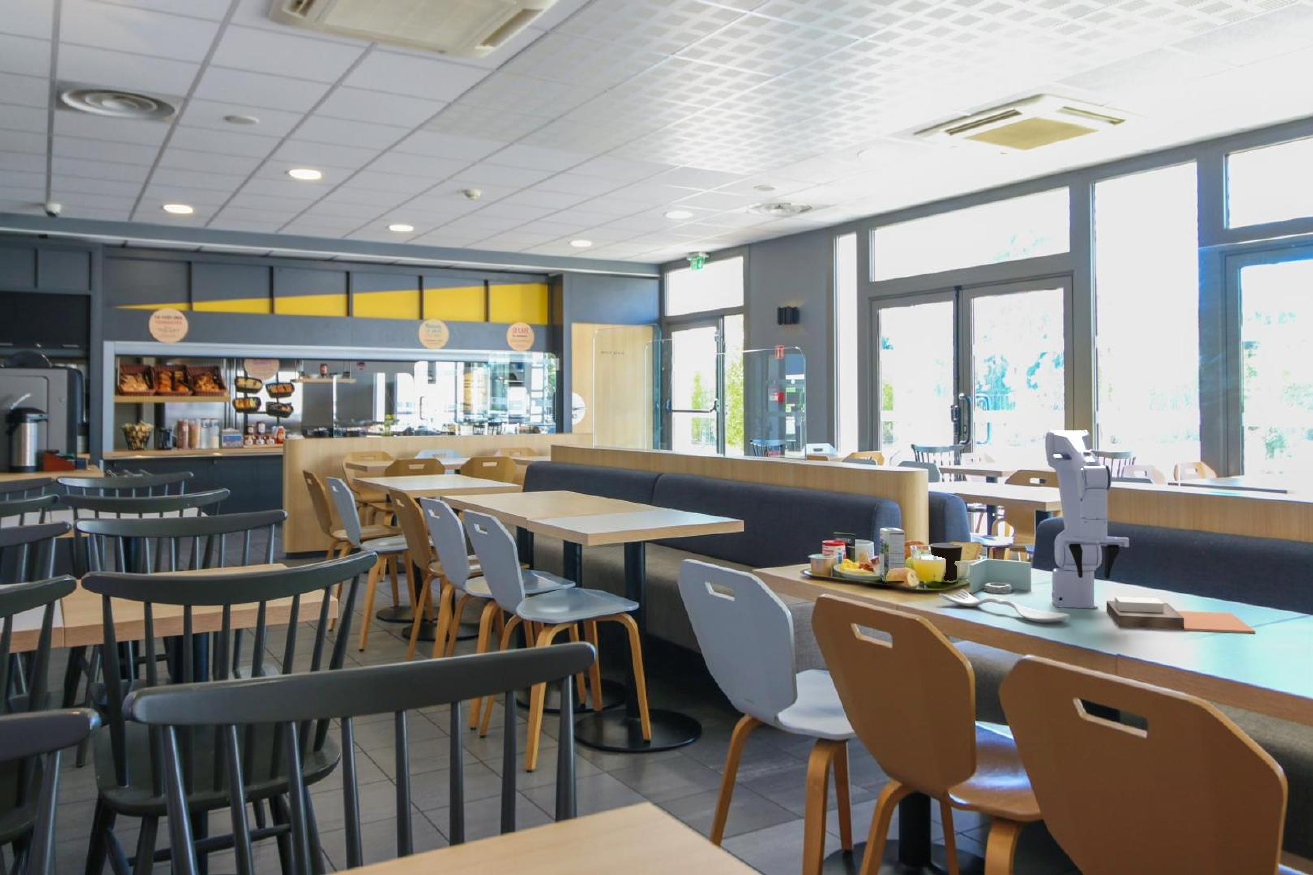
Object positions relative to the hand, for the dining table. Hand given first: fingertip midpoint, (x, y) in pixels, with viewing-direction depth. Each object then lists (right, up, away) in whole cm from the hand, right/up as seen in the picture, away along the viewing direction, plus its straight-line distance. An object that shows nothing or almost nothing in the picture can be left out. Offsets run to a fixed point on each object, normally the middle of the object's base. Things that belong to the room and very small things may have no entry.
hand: (1093, 577), depth 227 cm
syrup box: (-34, -8, +50) cm, 61 cm away
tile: (+9, -7, -2) cm, 12 cm away
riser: (+10, -9, -2) cm, 14 cm away
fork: (-18, -10, +7) cm, 22 cm away
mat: (+23, -9, -6) cm, 25 cm away
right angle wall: (-10, -9, +33) cm, 36 cm away
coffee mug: (-19, -8, +49) cm, 53 cm away
